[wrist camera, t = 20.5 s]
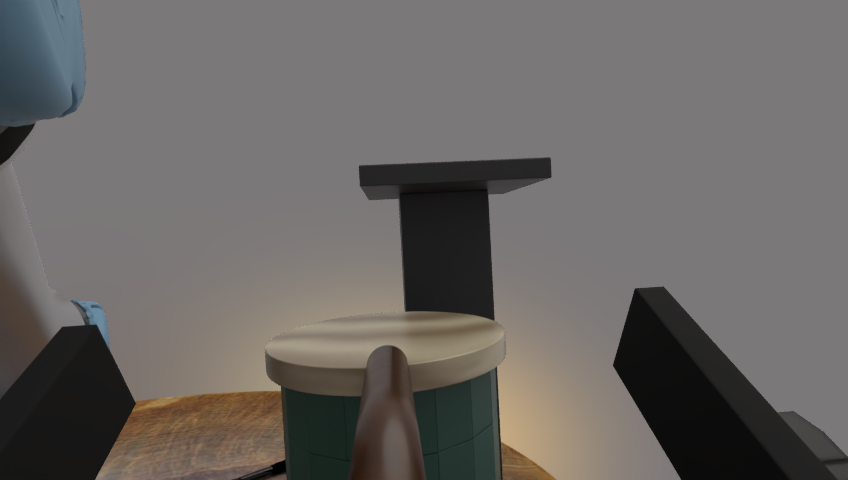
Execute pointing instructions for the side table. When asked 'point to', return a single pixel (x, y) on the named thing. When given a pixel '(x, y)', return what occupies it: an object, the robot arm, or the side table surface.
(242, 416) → the side table surface
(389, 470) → the wooden paddle
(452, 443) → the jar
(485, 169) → the square pedestal stand
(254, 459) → the side table surface
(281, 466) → the pen
